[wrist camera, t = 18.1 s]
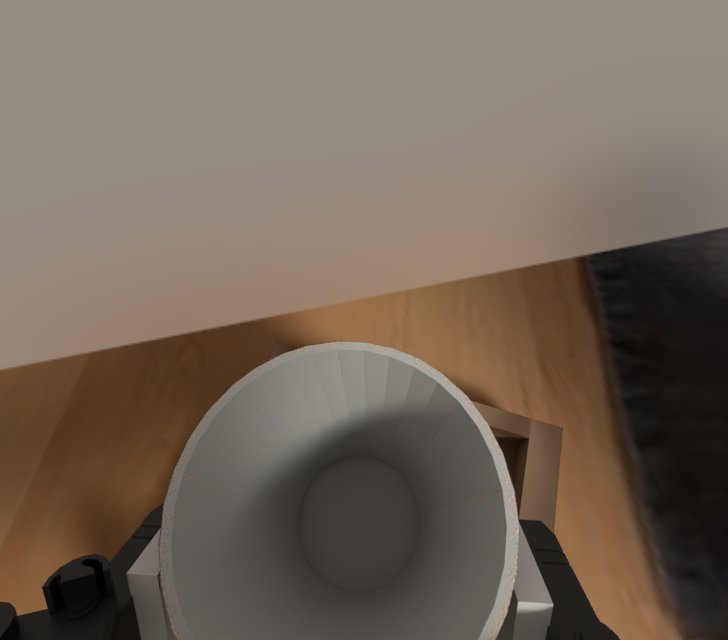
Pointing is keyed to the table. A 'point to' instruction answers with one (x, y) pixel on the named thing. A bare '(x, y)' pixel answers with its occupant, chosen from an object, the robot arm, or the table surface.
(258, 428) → the coffee mug
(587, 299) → the table surface
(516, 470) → the brown wooden shallow box
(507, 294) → the table surface
